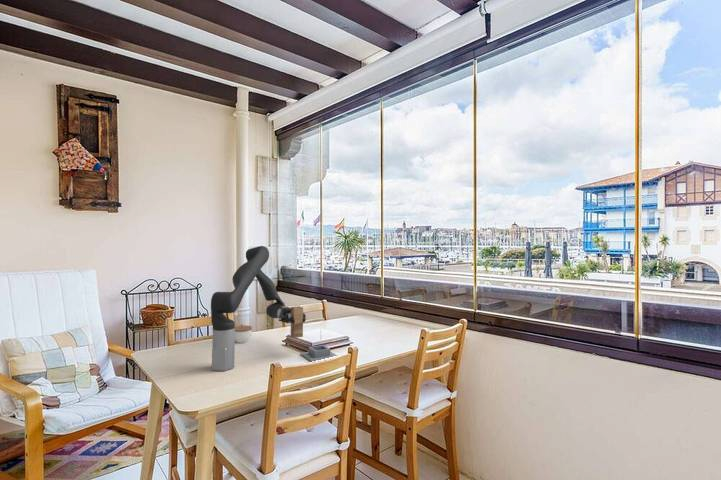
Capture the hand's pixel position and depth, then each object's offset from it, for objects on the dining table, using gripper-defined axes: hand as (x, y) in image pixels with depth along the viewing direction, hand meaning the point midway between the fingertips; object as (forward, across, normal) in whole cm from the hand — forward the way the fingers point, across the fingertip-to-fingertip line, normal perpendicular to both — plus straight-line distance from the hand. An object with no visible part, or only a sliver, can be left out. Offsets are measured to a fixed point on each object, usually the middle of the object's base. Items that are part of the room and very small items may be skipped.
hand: (299, 320), depth 186 cm
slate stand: (+2, +10, +18) cm, 20 cm away
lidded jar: (-43, -16, +18) cm, 49 cm away
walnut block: (-3, 0, +8) cm, 8 cm away
